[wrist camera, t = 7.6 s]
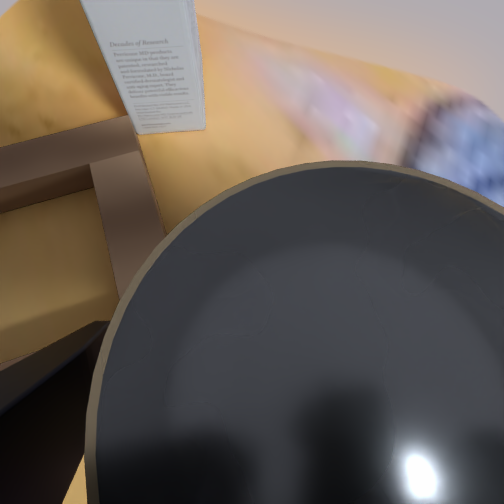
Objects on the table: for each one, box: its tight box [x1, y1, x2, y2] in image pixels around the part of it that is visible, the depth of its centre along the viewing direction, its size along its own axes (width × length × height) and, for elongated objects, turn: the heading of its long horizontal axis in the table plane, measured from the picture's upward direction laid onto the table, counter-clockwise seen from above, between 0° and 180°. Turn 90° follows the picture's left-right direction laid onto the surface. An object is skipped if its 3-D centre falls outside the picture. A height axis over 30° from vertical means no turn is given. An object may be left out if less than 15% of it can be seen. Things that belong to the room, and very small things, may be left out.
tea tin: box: [84, 161, 504, 504], centre depth 9 cm, size 6×6×12 cm
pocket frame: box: [0, 115, 167, 371], centre depth 17 cm, size 13×13×2 cm
